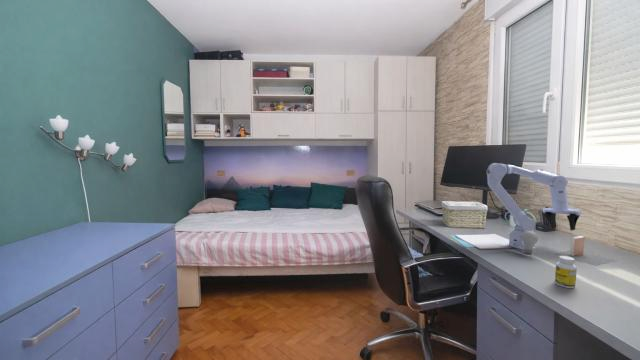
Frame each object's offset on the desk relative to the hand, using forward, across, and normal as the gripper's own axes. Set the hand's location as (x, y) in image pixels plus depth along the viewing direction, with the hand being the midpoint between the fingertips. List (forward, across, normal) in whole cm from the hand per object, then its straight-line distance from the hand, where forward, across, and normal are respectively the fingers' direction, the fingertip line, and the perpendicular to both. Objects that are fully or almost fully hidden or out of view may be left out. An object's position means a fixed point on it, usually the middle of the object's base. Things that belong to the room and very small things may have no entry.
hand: (563, 228), depth 132 cm
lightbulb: (+8, +3, +21) cm, 23 cm away
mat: (+11, -9, +4) cm, 15 cm away
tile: (+10, -6, +4) cm, 12 cm away
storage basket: (+5, +55, +4) cm, 55 cm away
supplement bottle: (+8, -22, +42) cm, 47 cm away
